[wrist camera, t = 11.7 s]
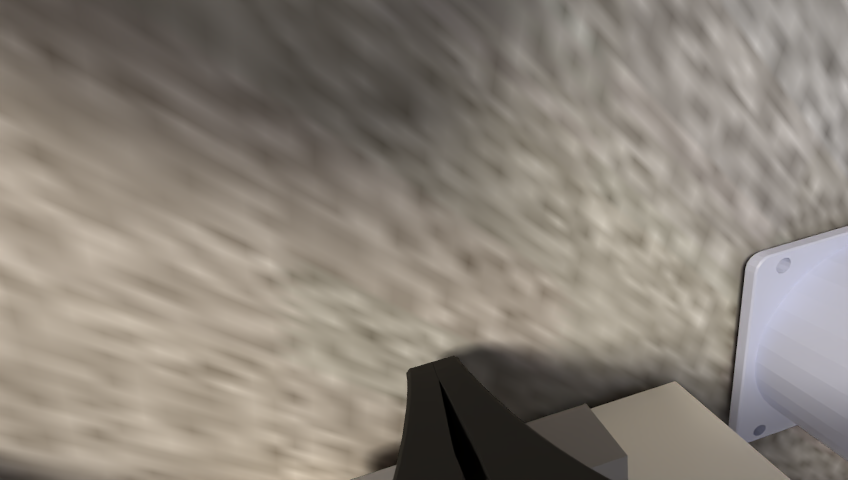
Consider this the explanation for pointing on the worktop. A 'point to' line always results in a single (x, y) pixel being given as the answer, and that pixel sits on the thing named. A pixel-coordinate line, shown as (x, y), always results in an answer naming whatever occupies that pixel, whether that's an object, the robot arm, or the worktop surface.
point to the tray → (649, 440)
